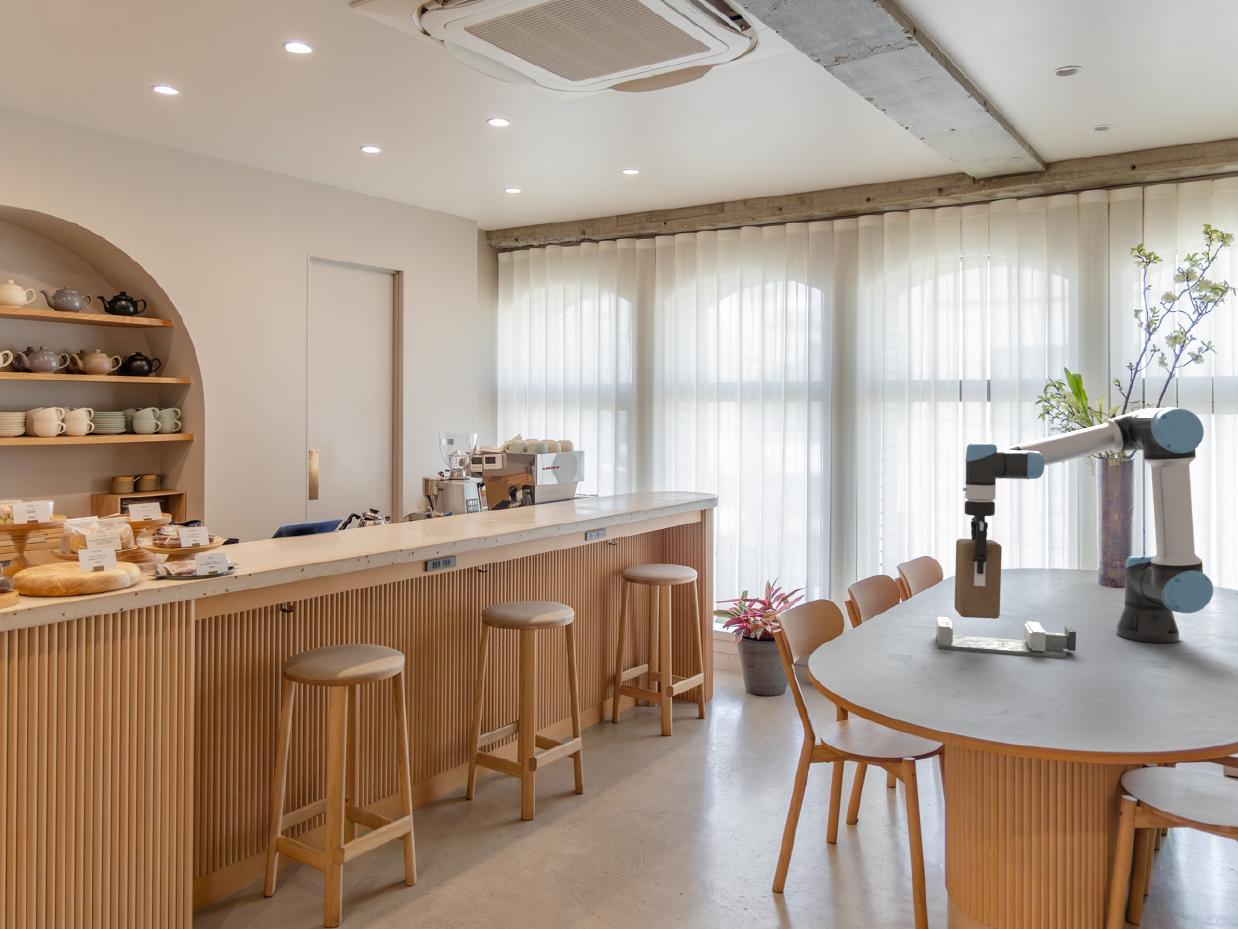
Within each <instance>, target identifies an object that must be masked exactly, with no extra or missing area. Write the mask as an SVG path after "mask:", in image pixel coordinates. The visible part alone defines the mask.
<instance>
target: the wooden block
mask: <svg viewBox="0 0 1238 929" xmlns="http://www.w3.org/2000/svg"><path fill="white" fill-rule="evenodd" d="M955 542H956V543H955V578H954V582H955V583H954V609H955V611H956V612H957V613H958V614H959V616H960V617H963V618H971V619H991V620H993V619H995V620H996V619H999V618H1000V616H1001V614H1000V613H1001V586H1002V585H1001V583H1002V552H1003V550H1002V548H1003V547H1002V545H1001V544H999V543H998V542H996V541H995V540H993V539H986V544H987V560H986V574H985V586H974V562H975V561H972V559H973V558H975V549H976V544H975V539H971V538H958V539H957V540H956V541H955Z"/></svg>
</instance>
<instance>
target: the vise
mask: <svg viewBox="0 0 1238 929" xmlns="http://www.w3.org/2000/svg"><path fill="white" fill-rule="evenodd" d="M935 633H936V636H935V639H936V644H937V648H938V650H947V651H948V650H950V651H951V650H952V651H961V652H963V651H964V652H975V653H977V652H978V653H986V654H987V653H989V654H990V653H991V654H1001V655H1013V656H1014V655H1016V656H1025V657H1026V656H1028V657H1029V656H1030V657H1038V658H1039V657H1040V658H1041V657H1042V658H1052V659H1053V658H1054V659H1066V660H1067V659H1068V657H1067V656H1068V654H1067V653H1066V652H1065V649H1058V648H1045V652H1044V651H1032V649H1031V648H1029V646H1028V644H1027V643H1026V641H1025V639H1015V638H1014V639H1013V638H1011V639H1010V638H1000V637H998V638H997V637H983V636H973V635H972V636H970V635H959V634H953V633H954V626H953V623H952V620H951V619H949V616H948V617H947V616H936V632H935Z"/></svg>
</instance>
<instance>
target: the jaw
mask: <svg viewBox="0 0 1238 929" xmlns="http://www.w3.org/2000/svg"><path fill="white" fill-rule="evenodd" d="M1025 622H1026V623H1023V640H1025V641H1026V643H1027V644H1028V646H1029V648H1031V649H1032V651H1044V652H1045V648H1058V649H1063V650H1067V651H1071V652H1076V649H1077V648H1076V646H1077V638H1076V637H1077V632H1076V630H1075V629H1074V628H1073V626H1066V625H1065V626H1064V632H1055V631H1053V632H1051V631H1045V629H1044V628H1043V627H1042V626H1041V623H1040V622H1037V621H1025Z"/></svg>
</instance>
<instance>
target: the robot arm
mask: <svg viewBox="0 0 1238 929" xmlns="http://www.w3.org/2000/svg"><path fill="white" fill-rule="evenodd" d="M1204 431H1205V430H1204V426H1203V424H1202V421H1201V420H1200V418H1199V417H1198V416H1197V415H1196V414H1195V413H1193V412H1192V411H1191V410H1188V409H1185V408H1179V407H1176V406H1174V407H1173V406H1171V407H1170V406H1168V407H1155V408H1153V407H1149V408H1147V407H1146V408H1143V409H1139V410H1136V411H1132V412H1129V413H1127V414H1122V415H1120V416H1117V417H1113V418H1107V419H1106V420H1105V421H1104V422H1103V424H1099V425H1095V426H1091V427H1087V428H1082V429H1078V430H1074V431H1070V432H1066V433H1061V434H1058V435H1052V436H1049V437H1045V438H1041V439H1037V440H1033V441H1027V442H1025V443H1019V444H1016V445H1011V446H1006V447H1003V448H997V444H995V443H991V442H990V443H989V442H988V443H987V442H986V443H983V442H982V443H980V442H973V443H972V442H971V443H969V444H967V446H966V451H965V452H966V453H965V460H964V461H965V487H963V488H962V491H963V492H965V493H964V498H965V499H966V500H965V501H964V514H965V515H967V516H973V517H971V521H970V528H971V530H970V531H971V533H970V535H971V538H970V539H975V544H976V549H975V558H973V559H972V561H975V562H974V586H985V574H986V560H987V544H986V540H987V539H988V538H987V537H988V529H989V527H988V526H989V524H988V522H987V521H986V517H993V516H994V515H996V514H995V513H996V503H995V500H996V495H997V494H996V490H997V489H996V486H997V485H996V483H997V482H996V481H997V479H999V480H1001V479H1007V480H1008V479H1009V480H1010V479H1013V480H1035V479H1036V480H1037V479H1039V478H1041V477H1042V475H1043V473H1044V471H1045V466H1050V465H1055V464H1058V463H1062V462H1066V461H1071V460H1074V459H1078V458H1079V459H1080V458H1085V457H1089V456H1093V455H1097V454H1101V453H1104V452H1105V453H1106V452H1110V451H1111V452H1113V453H1120V452H1125V451H1143V460H1144V462H1146V464H1149V466H1150V467H1151V468H1150V469H1151V471H1150V472H1151V484H1152V485H1151V486H1152V501H1153V503H1152V504H1153V513H1154V514H1153V515H1154V531H1155V546H1156V554H1155V556H1154V555H1153V556H1151V555H1148V556H1147V555H1144V556H1143V555H1132V556H1131V555H1130V556H1128V557H1127V558H1126V561H1125V567H1124V571H1125V573H1124V574H1125V575H1124V578H1125V580H1124V607H1123V610H1122V612H1121V615H1120V618H1119V620H1118V621H1117V625H1116V635H1118V636H1119V637H1123V638H1125V639H1129V640H1133V641H1138V642H1146V643H1156V644H1169V643H1177V642H1179V640H1180V631H1179V628H1178V625H1177V622H1176V619H1175V616H1174V612H1176V613H1182V614H1194V613H1196V612H1199V611H1201V610H1203V609H1204V608H1205V607H1206V606H1207V605H1208V604H1209V603H1211V600H1212V598H1213V595H1214V585H1213V582H1212V581H1211V578H1209V577H1208V576H1207V575H1206V574H1205V573H1204V570H1203V569H1204V566H1203V560H1202V559H1201V558H1200V557H1199V556H1197V555H1196V551H1195V535H1194V534H1195V533H1194V522H1193V521H1194V520H1193V517H1194V516H1193V505H1192V504H1193V503H1192V488H1191V487H1192V486H1191V471H1190V464H1191V463H1192V462H1193V461H1194V460H1195V459H1196V457H1197V456H1196V449H1197V448H1198V447H1199V445H1200V443H1202V441H1203V438H1204Z"/></svg>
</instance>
